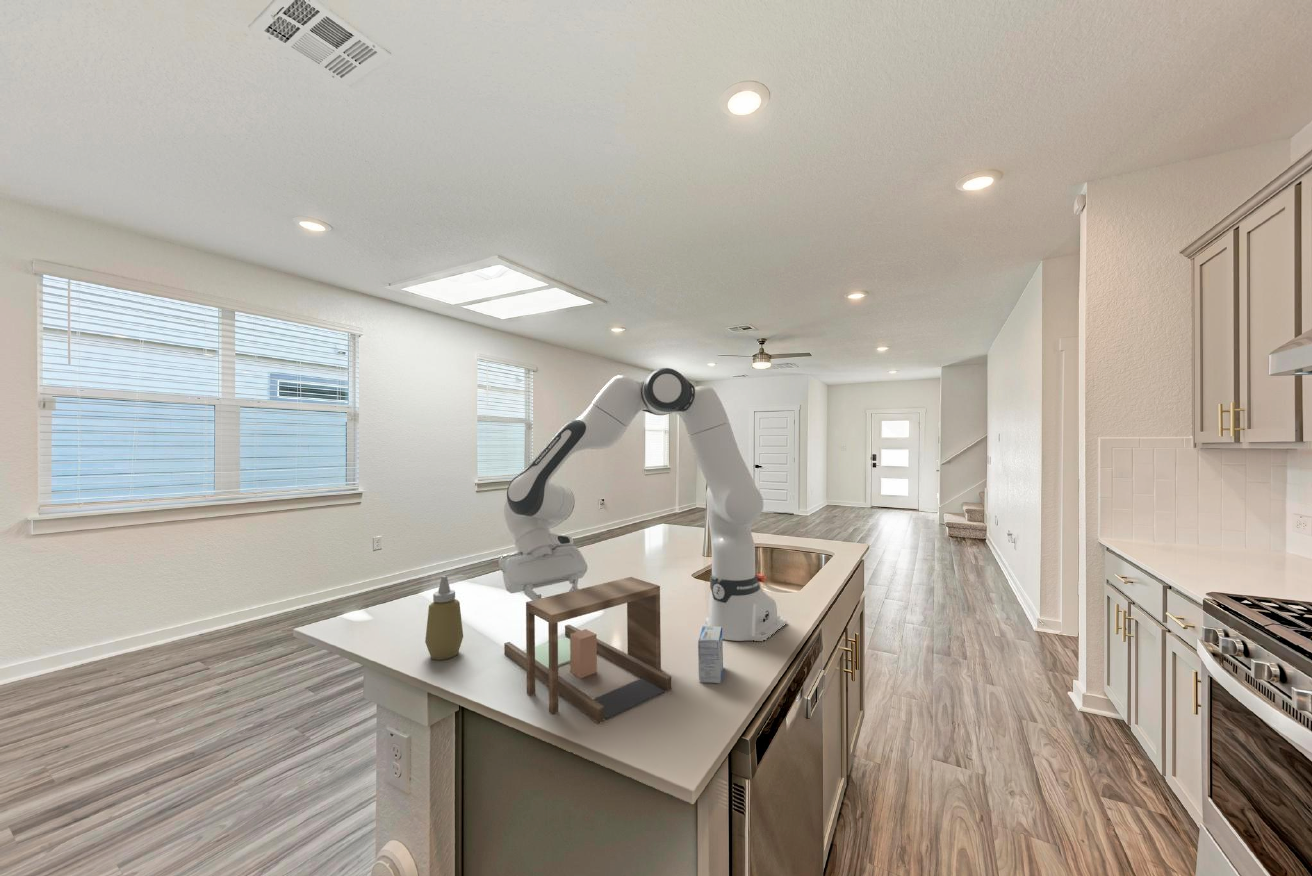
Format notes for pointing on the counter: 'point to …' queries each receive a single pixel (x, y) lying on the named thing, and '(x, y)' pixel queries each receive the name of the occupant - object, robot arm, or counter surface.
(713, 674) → the medicine box
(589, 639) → the terracotta block
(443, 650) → the squeeze bottle
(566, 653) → the pad
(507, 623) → the counter surface
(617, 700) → the pad
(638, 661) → the walnut tunnel
